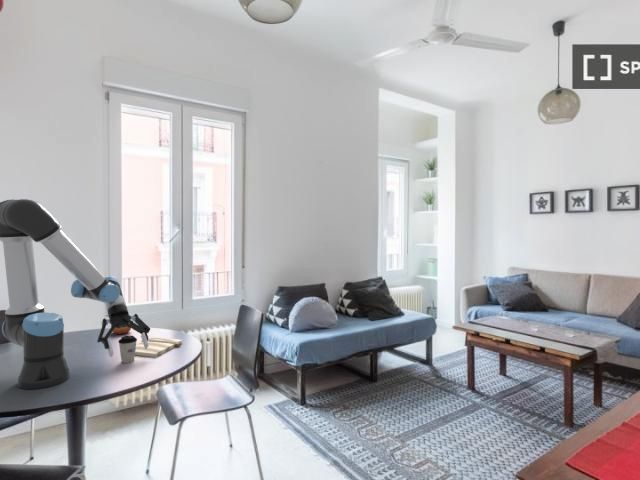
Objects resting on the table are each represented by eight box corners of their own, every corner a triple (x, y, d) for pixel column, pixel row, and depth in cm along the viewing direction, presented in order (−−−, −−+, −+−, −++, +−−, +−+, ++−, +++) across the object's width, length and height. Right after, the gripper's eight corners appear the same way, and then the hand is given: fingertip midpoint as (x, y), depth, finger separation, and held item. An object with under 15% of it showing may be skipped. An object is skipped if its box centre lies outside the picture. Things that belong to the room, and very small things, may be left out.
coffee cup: (114, 363, 155) (114, 338, 155) (127, 357, 162) (127, 334, 162) (128, 365, 153) (128, 340, 153) (141, 359, 160) (141, 335, 160)
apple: (106, 334, 194) (106, 318, 194) (121, 329, 204) (121, 314, 203) (121, 336, 191) (121, 320, 191) (136, 331, 200) (136, 316, 200)
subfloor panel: (159, 357, 163) (159, 353, 162) (120, 353, 167) (120, 349, 166) (185, 343, 182) (185, 339, 182) (149, 340, 186) (149, 336, 186)
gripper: (143, 309, 177) (157, 349, 167) (82, 318, 159) (93, 363, 149) (148, 299, 173) (163, 339, 163) (85, 307, 155) (97, 353, 145)
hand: (130, 351), depth 156 cm, fingers open, 13 cm apart
